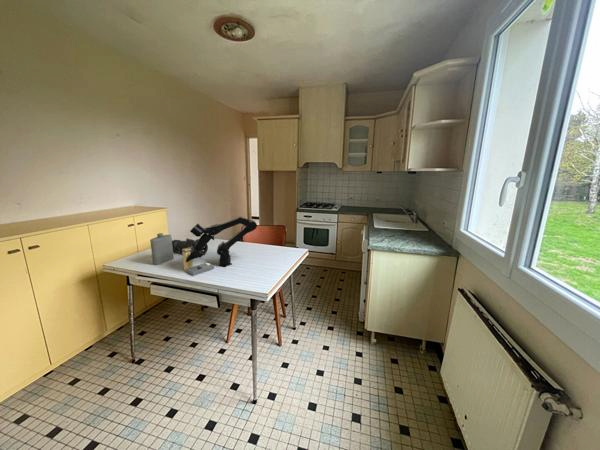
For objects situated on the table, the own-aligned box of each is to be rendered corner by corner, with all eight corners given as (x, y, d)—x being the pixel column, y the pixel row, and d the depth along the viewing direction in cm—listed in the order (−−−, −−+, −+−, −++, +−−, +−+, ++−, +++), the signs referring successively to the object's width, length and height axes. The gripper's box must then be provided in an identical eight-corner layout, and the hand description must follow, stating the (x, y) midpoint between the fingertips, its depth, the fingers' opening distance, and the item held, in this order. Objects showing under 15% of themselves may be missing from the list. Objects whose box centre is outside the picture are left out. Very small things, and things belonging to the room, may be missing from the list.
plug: (190, 267, 150) (188, 247, 147) (193, 269, 148) (191, 248, 145) (184, 269, 147) (182, 249, 144) (187, 271, 145) (185, 250, 142)
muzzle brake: (201, 257, 169) (200, 244, 167) (168, 254, 175) (166, 241, 173) (208, 253, 178) (207, 240, 176) (177, 250, 184) (175, 238, 182)
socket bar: (207, 265, 154) (206, 261, 154) (214, 268, 150) (213, 264, 149) (186, 272, 143) (186, 267, 143) (193, 275, 139) (192, 271, 138)
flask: (168, 257, 168) (166, 230, 164) (175, 258, 167) (172, 231, 163) (150, 264, 154) (146, 235, 150) (157, 265, 153) (153, 236, 149)
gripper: (190, 230, 152) (173, 249, 149) (195, 237, 137) (176, 258, 133) (203, 240, 158) (187, 258, 155) (209, 247, 143) (191, 268, 139)
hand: (185, 260), depth 145 cm, fingers closed on plug, 5 cm apart
